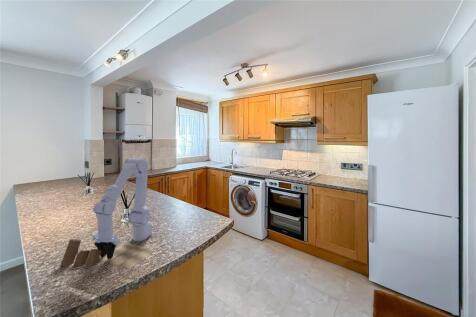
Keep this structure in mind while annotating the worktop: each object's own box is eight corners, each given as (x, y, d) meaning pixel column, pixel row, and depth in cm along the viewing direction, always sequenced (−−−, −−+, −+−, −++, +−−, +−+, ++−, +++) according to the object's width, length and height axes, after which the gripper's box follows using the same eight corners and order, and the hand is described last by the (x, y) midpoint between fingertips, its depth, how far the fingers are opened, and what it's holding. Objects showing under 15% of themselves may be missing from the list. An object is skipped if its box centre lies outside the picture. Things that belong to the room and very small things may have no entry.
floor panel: (137, 247, 106) (137, 245, 106) (156, 252, 101) (156, 250, 101) (107, 265, 91) (107, 262, 91) (128, 272, 87) (128, 269, 86)
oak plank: (126, 245, 108) (126, 242, 108) (137, 247, 106) (137, 245, 106) (95, 261, 94) (95, 258, 93) (107, 265, 91) (106, 262, 91)
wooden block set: (99, 269, 92) (107, 244, 95) (80, 272, 85) (90, 245, 87) (70, 260, 98) (78, 236, 101) (49, 262, 90) (59, 236, 93)
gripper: (85, 228, 93) (86, 258, 94) (108, 233, 88) (110, 265, 89) (100, 222, 99) (102, 250, 101) (123, 227, 94) (124, 256, 95)
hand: (106, 257), depth 95 cm, fingers open, 4 cm apart
